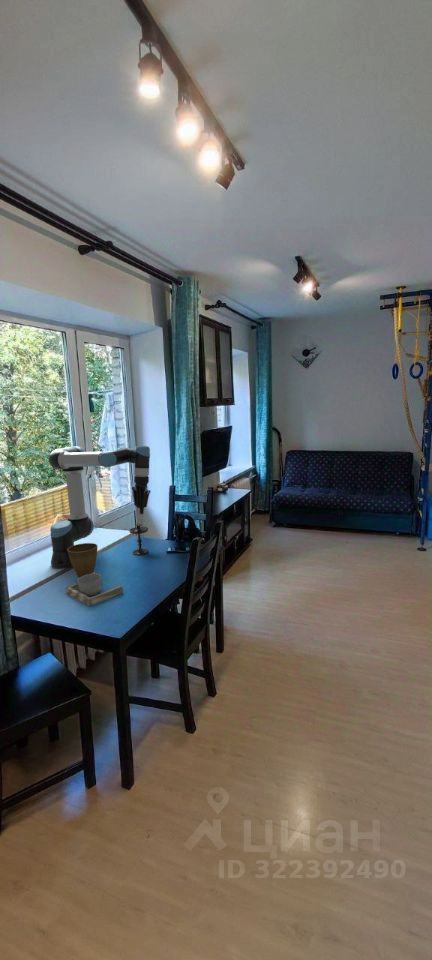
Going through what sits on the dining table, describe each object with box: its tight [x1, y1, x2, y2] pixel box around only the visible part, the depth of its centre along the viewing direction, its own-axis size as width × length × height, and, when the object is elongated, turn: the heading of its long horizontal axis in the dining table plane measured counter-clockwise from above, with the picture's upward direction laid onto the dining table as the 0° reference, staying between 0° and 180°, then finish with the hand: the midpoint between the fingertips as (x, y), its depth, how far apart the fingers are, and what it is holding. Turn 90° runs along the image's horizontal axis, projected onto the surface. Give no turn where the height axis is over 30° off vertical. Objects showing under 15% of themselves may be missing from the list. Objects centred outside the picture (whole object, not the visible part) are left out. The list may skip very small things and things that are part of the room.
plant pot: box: [67, 542, 98, 579], centre depth 233 cm, size 15×15×16 cm
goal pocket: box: [65, 582, 124, 607], centre depth 213 cm, size 21×18×3 cm
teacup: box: [76, 571, 103, 597], centre depth 214 cm, size 14×11×8 cm
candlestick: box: [128, 505, 149, 556], centre depth 263 cm, size 11×11×35 cm
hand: (139, 519), depth 239 cm, fingers closed
